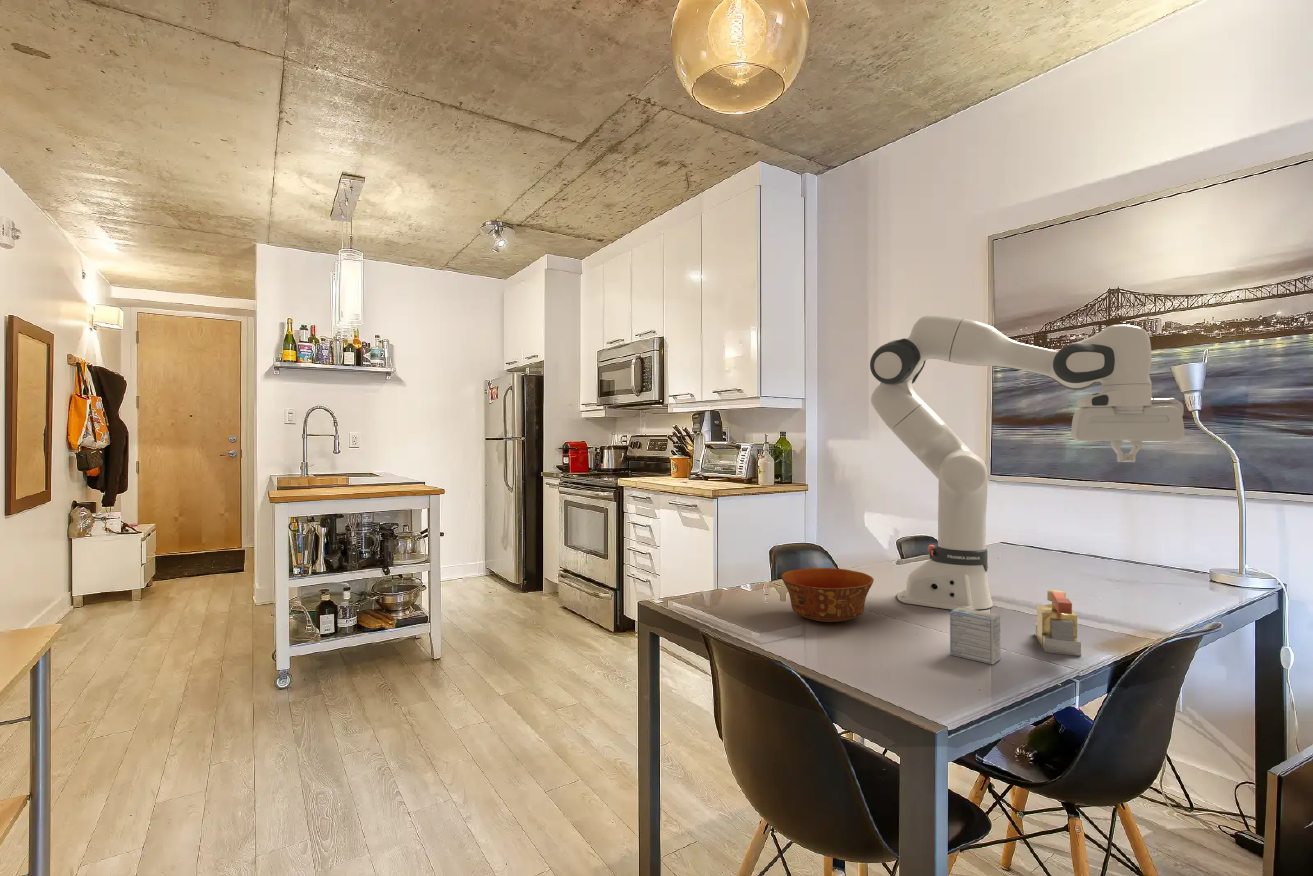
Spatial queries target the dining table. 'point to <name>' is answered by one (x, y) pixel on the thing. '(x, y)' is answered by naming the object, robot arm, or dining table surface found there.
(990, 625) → the medicine box
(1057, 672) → the dining table surface
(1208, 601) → the dining table surface
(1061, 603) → the lever
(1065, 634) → the valve
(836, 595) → the bowl
